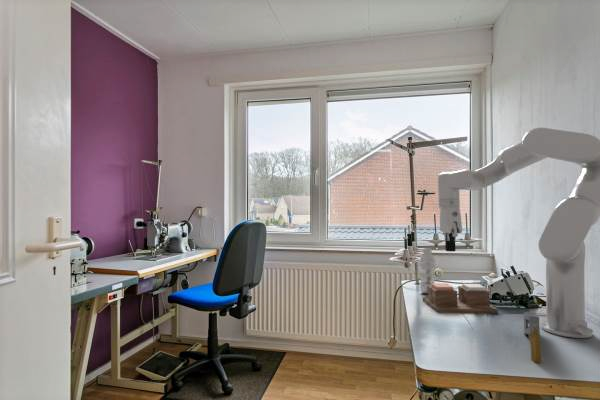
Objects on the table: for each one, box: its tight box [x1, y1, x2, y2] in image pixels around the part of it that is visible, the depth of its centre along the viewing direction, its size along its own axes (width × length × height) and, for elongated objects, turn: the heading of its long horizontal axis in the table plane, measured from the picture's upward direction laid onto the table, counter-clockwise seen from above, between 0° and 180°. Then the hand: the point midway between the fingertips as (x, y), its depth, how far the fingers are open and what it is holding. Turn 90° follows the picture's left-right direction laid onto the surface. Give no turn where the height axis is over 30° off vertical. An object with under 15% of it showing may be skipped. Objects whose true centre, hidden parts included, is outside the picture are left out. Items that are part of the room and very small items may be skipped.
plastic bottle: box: [419, 247, 436, 295], centre depth 154 cm, size 6×7×20 cm
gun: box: [523, 311, 542, 364], centre depth 96 cm, size 3×25×15 cm, turn 149°
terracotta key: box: [432, 283, 454, 290], centre depth 133 cm, size 6×6×5 cm
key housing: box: [422, 285, 499, 314], centre depth 133 cm, size 16×22×7 cm
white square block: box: [461, 283, 486, 291], centre depth 133 cm, size 6×6×5 cm
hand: (450, 251), depth 133 cm, fingers closed
